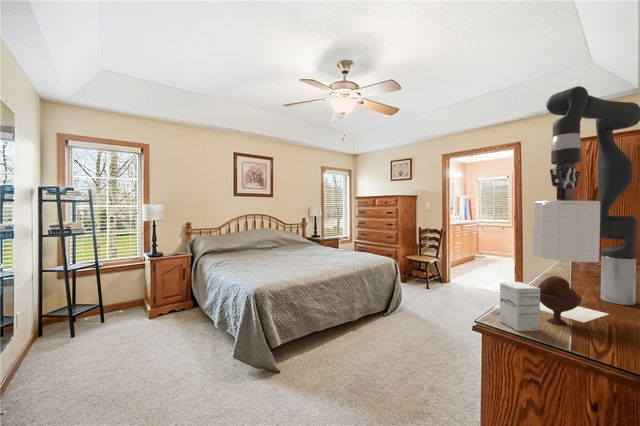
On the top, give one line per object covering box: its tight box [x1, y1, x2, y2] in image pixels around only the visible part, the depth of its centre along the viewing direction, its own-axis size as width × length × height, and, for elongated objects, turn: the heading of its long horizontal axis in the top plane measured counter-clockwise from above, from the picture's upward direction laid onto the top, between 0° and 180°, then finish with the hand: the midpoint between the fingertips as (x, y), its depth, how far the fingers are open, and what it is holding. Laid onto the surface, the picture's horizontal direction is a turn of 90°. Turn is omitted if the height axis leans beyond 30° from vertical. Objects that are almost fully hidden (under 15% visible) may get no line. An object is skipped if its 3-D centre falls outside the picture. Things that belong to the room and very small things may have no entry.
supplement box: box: [499, 281, 541, 332], centre depth 85 cm, size 7×7×13 cm
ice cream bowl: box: [537, 275, 583, 327], centre depth 87 cm, size 11×11×15 cm
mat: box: [540, 302, 610, 324], centre depth 98 cm, size 17×17×1 cm
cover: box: [532, 188, 601, 263], centre depth 95 cm, size 17×17×24 cm
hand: (564, 199), depth 95 cm, fingers closed on cover, 4 cm apart
